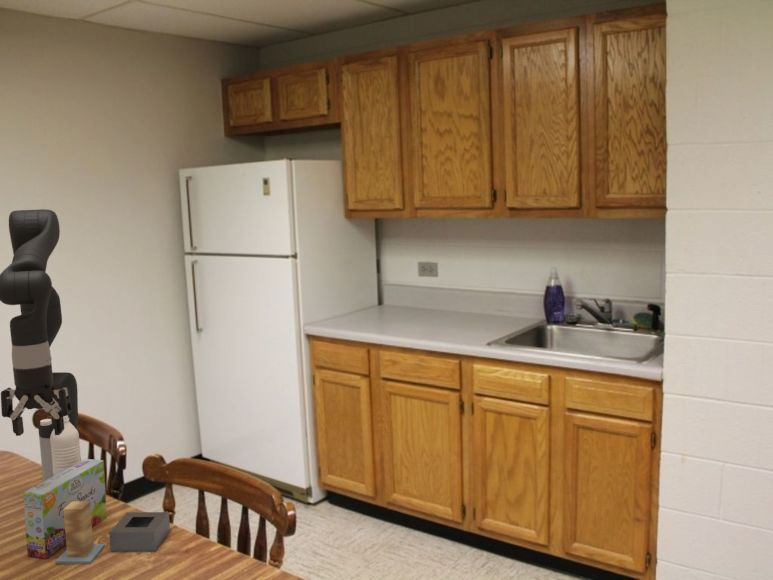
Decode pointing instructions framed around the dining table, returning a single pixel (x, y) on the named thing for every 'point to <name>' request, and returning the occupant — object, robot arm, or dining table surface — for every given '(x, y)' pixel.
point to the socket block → (139, 531)
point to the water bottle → (64, 446)
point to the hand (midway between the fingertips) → (39, 434)
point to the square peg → (78, 529)
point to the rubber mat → (81, 560)
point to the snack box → (62, 505)
